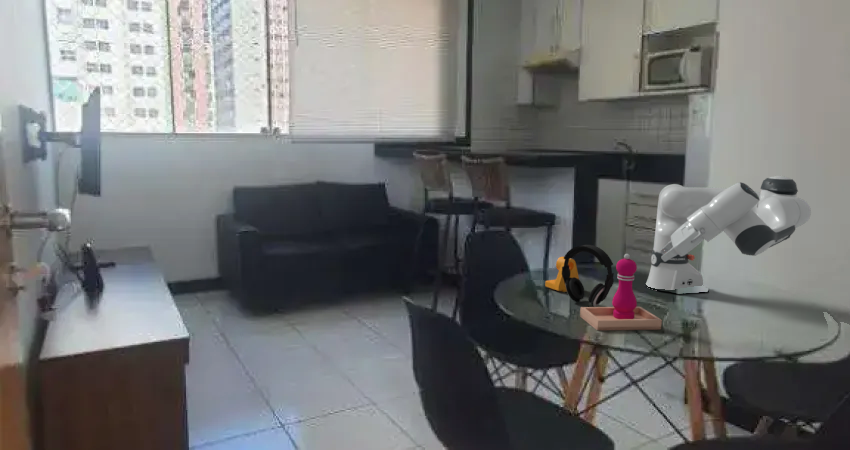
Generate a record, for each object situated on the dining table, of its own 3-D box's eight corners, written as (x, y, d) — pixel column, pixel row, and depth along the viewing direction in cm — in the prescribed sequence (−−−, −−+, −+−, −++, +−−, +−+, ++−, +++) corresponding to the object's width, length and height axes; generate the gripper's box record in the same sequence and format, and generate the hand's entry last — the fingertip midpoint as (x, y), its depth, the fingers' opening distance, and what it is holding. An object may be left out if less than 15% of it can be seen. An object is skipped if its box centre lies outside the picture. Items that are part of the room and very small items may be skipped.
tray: (639, 315, 190) (640, 306, 189) (660, 329, 177) (661, 319, 177) (579, 316, 187) (580, 307, 186) (597, 330, 174) (598, 320, 174)
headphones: (614, 308, 197) (619, 249, 194) (602, 312, 192) (608, 252, 188) (568, 295, 210) (572, 240, 206) (555, 299, 204) (559, 242, 201)
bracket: (564, 284, 225) (567, 253, 223) (579, 289, 219) (581, 257, 217) (543, 288, 219) (546, 256, 217) (558, 293, 213) (560, 260, 211)
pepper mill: (636, 314, 187) (639, 252, 183) (635, 321, 180) (639, 257, 177) (611, 312, 189) (615, 250, 186) (610, 319, 182) (614, 255, 179)
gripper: (713, 241, 160) (670, 272, 165) (706, 229, 179) (668, 257, 184) (697, 223, 160) (655, 254, 165) (691, 213, 179) (654, 242, 184)
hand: (662, 256), depth 175 cm, fingers open, 8 cm apart
